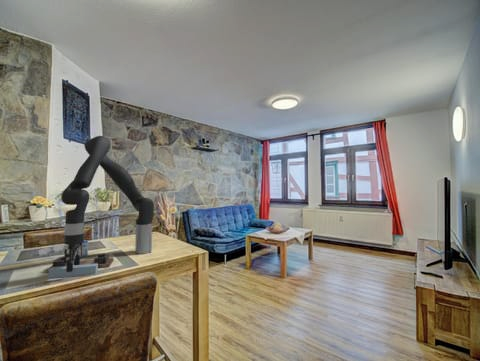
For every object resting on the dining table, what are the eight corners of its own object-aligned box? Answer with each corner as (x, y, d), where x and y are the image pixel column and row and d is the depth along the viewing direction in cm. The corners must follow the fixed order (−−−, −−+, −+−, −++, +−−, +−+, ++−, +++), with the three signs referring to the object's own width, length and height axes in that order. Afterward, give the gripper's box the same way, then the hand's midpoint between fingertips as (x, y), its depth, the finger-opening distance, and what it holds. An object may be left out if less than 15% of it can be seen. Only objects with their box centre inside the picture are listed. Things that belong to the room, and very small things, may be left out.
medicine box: (75, 259, 126) (76, 243, 126) (69, 258, 126) (69, 243, 127) (88, 255, 133) (88, 240, 133) (81, 254, 134) (81, 239, 134)
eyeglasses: (64, 250, 144) (64, 244, 144) (71, 253, 140) (72, 246, 140) (37, 256, 131) (37, 249, 131) (44, 259, 128) (44, 252, 128)
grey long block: (97, 271, 109) (97, 263, 109) (95, 274, 106) (95, 265, 106) (52, 276, 103) (52, 267, 104) (48, 279, 100) (48, 270, 100)
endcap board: (113, 260, 124) (113, 252, 124) (109, 267, 114) (109, 258, 114) (55, 265, 116) (56, 256, 116) (46, 273, 106) (46, 263, 106)
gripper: (78, 235, 99) (77, 273, 99) (88, 229, 113) (87, 262, 112) (57, 236, 97) (56, 275, 97) (71, 230, 111) (69, 264, 110)
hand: (73, 268), depth 105 cm, fingers open, 8 cm apart
